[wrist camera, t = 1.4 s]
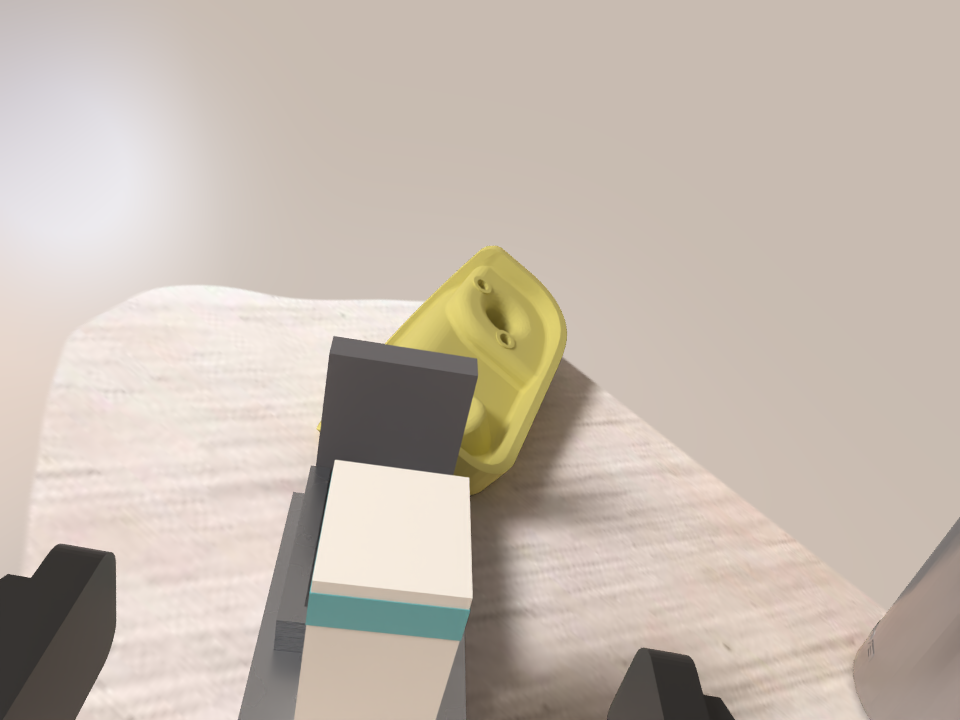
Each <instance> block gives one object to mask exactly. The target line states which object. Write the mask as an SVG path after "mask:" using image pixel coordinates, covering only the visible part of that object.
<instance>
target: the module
mask: <svg viewBox="0 0 960 720" xmlns="http://www.w3.org/2000/svg"><path fill="white" fill-rule="evenodd" d="M472 599H473V591H472V556H471V522H470V488H469V478H468V477H461V476H453V475H446V474H438V473H431V472H423V471H416V470H408V469H401V468H393V467H386V466H378V465H371V464H364V463H356V462H349V461H341V460H335V462H334V467H333V471H332V476H331V481H330V487H329V492H328V497H327V502H326V508H325V513H324V518H323V524H322V529H321V534H320V540H319V545H318V550H317V555H316V561H315V566H314V571H313V577H312V582H311V587H310V592H309V600H308V608H307V615H306V623H305V625H306V632H305V639H304V647H303V655H302V662H301V670H300V678H299V686H298V693H297V701H296V709H295V716H294V720H436V717H437V714H438V710H439V707H440V704H441V701H442V697H443V694H444V691H445V687H446V684H447V681H448V678H449V674H450V671H451V668H452V665H453V661H454V658H455V655H456V651H457V648H458V645H459V642H460V641H461V639H462V636H463V633H464V630H465V626H466V623H467V620H468V617H469V613H470V606H471V602H472Z"/></svg>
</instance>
